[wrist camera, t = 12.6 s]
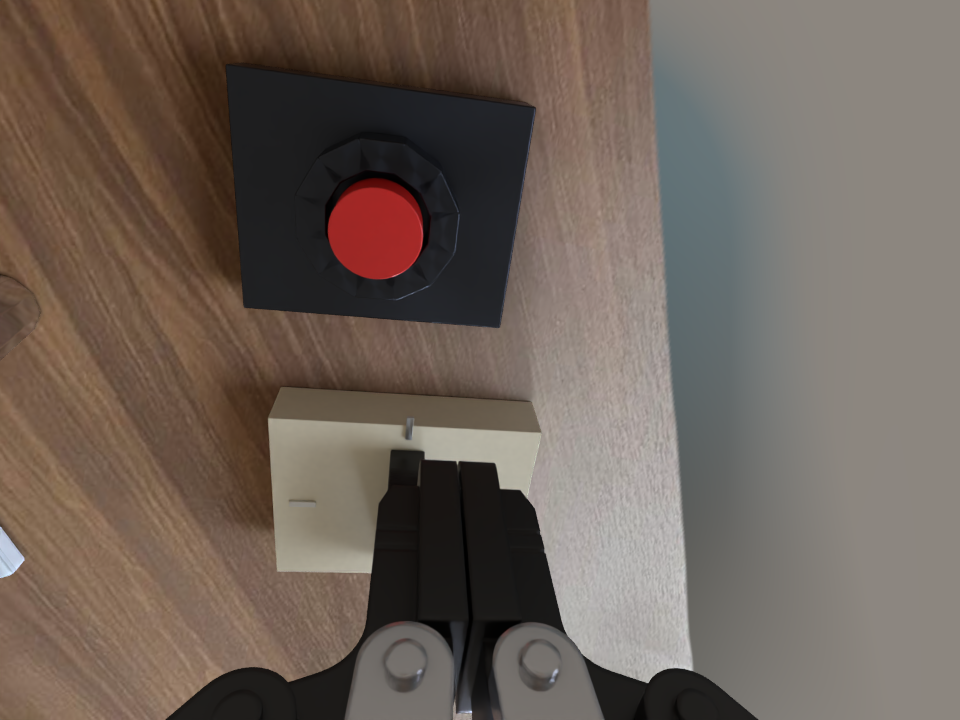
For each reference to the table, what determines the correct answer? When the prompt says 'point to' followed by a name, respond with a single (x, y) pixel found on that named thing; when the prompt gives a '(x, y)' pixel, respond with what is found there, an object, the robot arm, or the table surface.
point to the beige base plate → (374, 462)
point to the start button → (376, 228)
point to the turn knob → (404, 467)
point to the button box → (374, 154)
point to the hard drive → (8, 555)
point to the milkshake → (15, 314)
